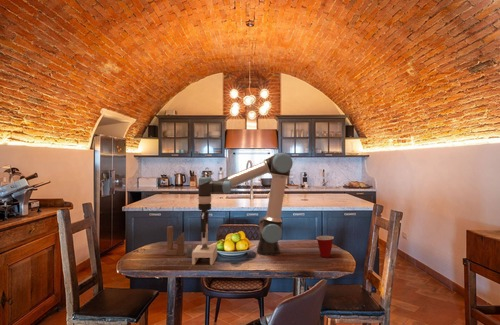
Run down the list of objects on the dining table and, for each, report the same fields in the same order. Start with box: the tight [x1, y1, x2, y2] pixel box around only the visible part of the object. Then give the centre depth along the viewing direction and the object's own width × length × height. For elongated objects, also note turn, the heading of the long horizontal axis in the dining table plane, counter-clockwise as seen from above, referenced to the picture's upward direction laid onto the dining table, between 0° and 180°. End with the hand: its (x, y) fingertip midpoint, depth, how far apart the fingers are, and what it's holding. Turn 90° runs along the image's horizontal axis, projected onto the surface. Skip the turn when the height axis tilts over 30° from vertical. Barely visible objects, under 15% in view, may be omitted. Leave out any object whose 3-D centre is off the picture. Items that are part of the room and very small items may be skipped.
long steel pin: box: [201, 223, 209, 248], centre depth 192 cm, size 4×4×14 cm
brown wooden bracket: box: [165, 225, 185, 257], centre depth 203 cm, size 4×11×18 cm, turn 85°
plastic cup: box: [315, 235, 335, 258], centre depth 199 cm, size 11×11×12 cm
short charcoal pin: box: [186, 244, 194, 258], centre depth 200 cm, size 4×4×7 cm
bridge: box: [191, 244, 218, 266], centre depth 192 cm, size 12×16×7 cm
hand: (204, 242), depth 192 cm, fingers closed on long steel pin, 3 cm apart
